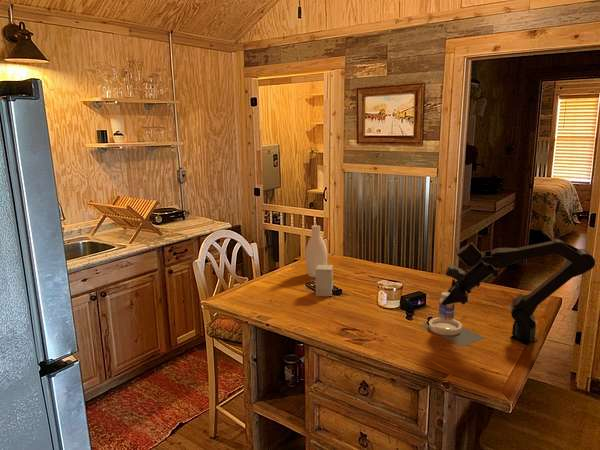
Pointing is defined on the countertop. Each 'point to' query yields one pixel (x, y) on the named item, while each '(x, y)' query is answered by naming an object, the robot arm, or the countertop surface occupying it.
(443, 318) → the pill bottle
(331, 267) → the supplement box
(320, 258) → the bottle
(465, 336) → the placemat
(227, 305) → the countertop surface
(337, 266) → the countertop surface
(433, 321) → the dish
